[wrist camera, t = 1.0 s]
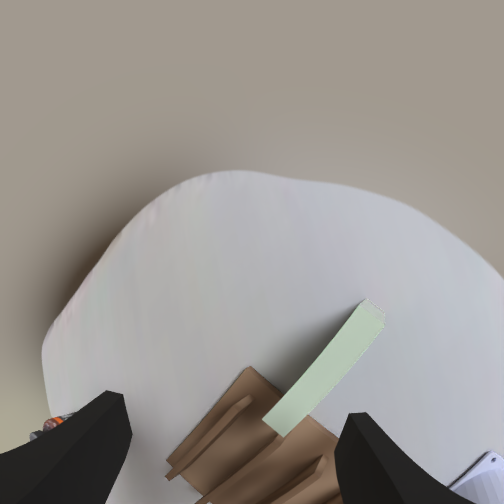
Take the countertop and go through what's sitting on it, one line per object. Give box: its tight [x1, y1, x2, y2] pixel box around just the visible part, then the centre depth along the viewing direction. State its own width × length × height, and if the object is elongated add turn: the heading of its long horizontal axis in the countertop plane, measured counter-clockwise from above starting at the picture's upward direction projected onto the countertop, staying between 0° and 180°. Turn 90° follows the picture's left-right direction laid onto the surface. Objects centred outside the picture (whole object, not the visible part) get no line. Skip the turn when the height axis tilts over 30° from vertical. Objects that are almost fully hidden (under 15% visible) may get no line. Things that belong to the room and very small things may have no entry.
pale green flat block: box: [262, 298, 385, 438], centre depth 17 cm, size 2×8×7 cm, turn 143°
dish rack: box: [165, 366, 343, 504], centre depth 19 cm, size 15×15×4 cm
